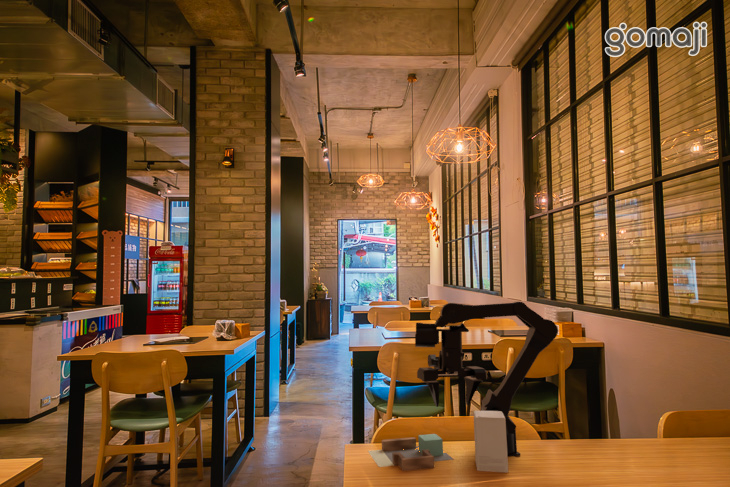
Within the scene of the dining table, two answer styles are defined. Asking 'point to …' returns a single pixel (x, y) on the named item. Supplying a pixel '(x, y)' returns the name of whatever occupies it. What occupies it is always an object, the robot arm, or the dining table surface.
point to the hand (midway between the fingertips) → (452, 405)
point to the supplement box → (490, 441)
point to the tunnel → (408, 463)
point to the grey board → (386, 457)
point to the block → (431, 444)
